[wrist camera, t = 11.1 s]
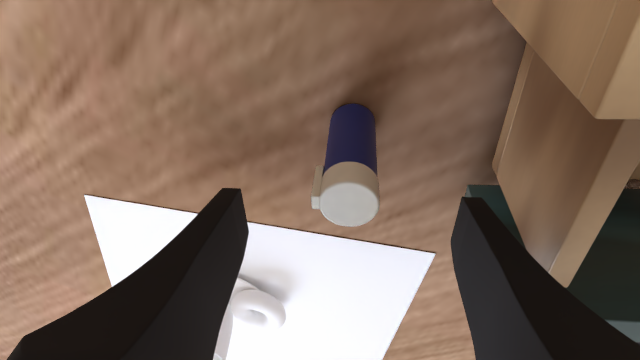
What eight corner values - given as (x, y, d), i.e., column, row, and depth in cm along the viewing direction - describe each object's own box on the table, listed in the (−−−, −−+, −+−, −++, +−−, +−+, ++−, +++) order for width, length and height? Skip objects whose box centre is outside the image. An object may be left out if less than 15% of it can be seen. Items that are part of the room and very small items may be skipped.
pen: (375, 143, 18) (378, 228, 14) (324, 142, 19) (312, 226, 14) (377, 102, 17) (381, 182, 13) (322, 101, 17) (309, 180, 13)
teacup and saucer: (292, 278, 25) (282, 338, 22) (281, 342, 30) (272, 398, 27) (154, 255, 25) (123, 312, 22) (166, 323, 30) (142, 378, 27)
